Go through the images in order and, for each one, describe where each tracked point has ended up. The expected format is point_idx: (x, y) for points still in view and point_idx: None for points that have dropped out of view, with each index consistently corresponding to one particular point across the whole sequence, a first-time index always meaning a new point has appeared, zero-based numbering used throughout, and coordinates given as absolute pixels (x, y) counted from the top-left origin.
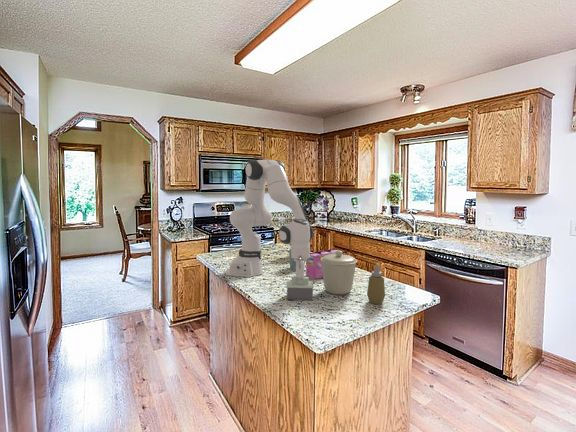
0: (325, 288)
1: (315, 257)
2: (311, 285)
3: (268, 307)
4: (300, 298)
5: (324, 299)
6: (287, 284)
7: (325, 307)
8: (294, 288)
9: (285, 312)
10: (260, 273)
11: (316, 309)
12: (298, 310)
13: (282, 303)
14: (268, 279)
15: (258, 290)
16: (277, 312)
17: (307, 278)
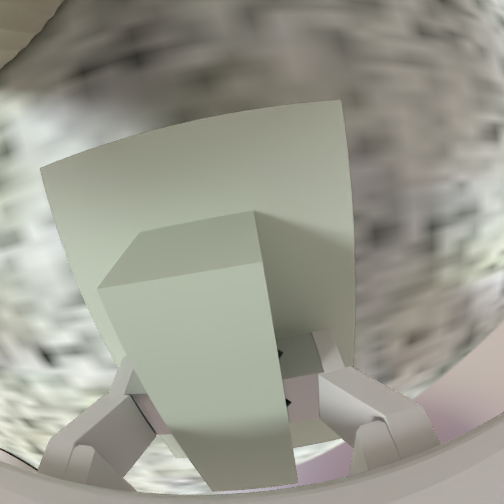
0: (10, 55)
1: None
2: (309, 142)
3: (432, 379)
4: None
5: (223, 10)
6: (313, 440)
7: (418, 11)
8: None
9: (501, 282)
10: (11, 458)
11: (467, 85)
12: (489, 215)
13: (382, 342)
14: (29, 440)
15: (188, 470)
16: (493, 319)
17: (254, 294)
